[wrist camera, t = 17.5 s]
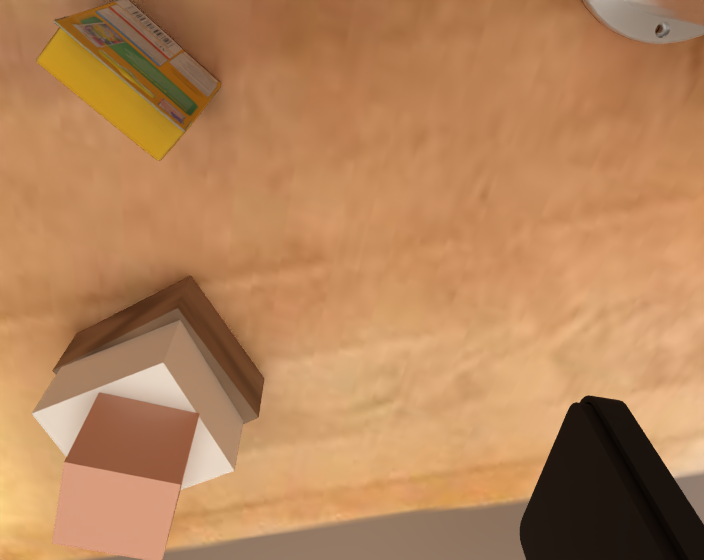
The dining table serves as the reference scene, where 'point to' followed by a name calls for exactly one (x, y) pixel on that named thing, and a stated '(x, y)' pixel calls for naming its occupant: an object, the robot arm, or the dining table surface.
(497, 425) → the dining table surface
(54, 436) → the tower top
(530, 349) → the dining table surface
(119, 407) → the terracotta cube
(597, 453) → the robot arm
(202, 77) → the crayon box
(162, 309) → the tower bottom
